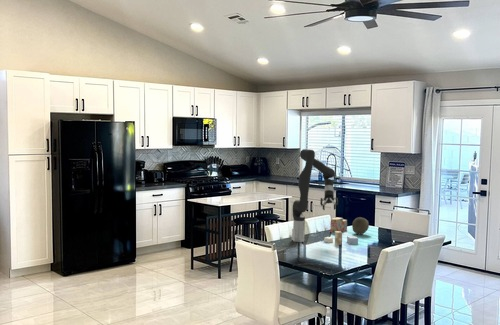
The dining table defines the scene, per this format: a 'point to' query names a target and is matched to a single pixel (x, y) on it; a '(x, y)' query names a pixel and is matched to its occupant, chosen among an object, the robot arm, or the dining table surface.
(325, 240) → the cream block
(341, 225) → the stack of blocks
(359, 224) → the cantaloupe
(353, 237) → the blue base block
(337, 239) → the oak block
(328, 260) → the dining table surface
